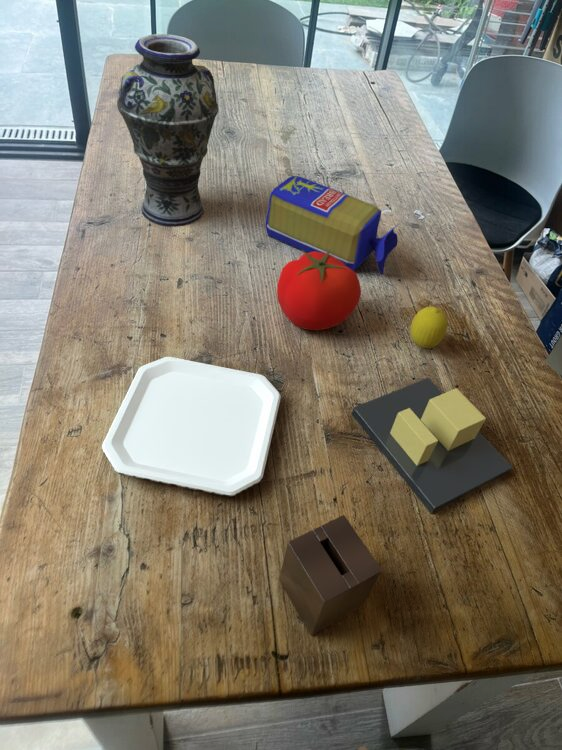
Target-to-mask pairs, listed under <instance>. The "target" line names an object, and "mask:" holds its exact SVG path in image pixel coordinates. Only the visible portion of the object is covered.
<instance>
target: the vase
mask: <svg viewBox="0 0 562 750" xmlns="http://www.w3.org/2000/svg"><path fill="white" fill-rule="evenodd" d="M134 50H135V51H136V52H137V53H138V54H139V55H140V56H142V57H143V58H142V61H140V62H139V63H137V64H136V65H134V66H133V67H132V68H131V69H130V70H129V71H126V73H125V74H123V75H122V77H121V83H120V86H119V90H118V98H117V100H116V106H117V110H118V112H119V114H120V115H121V117H122V118H123V121H124V122H125V125H126V128H127V130H128V132H129V136H130V138H131V140H132V144H133V152H134V154H135V155H136V156H137V157H138V159H139V161H140V163H141V166H142V175H143V177H144V179H145V184H146V188H145V194H144V198H143V202H142V204H141V205H142V206H141V214H142V216H143V217H144V218H145V219H146V220H147V221H149V222H151V223H153V224H156V225H159V226H163V227H182V226H187V225H190V224H193V223H195V222H197V221H198V220H199V219H201V218H202V217H203V215H204V211H205V209H204V205H203V203H202V198H201V195H200V189H199V181H200V177H201V167H202V164H203V160H204V158H205V157H206V155H207V153H208V149H209V148H208V144H209V142H210V141H209V140H210V137H211V133H212V130H213V126H214V123H215V120H216V117H217V115H218V114H219V104H218V101H217V92H216V86H215V79H214V76H213V73H212V71H210V69H209V68H208V67H206V66H205V65H200V64H199V65H197V64H193V60H195V59H196V58H198V57H199V56H200V53H201V50H200V47H199V46H198V45H197V43H195V42H194V41H193V40H191V39H189V38H187V37H184V36H180V35H176V34H175V35H174V34H168V33H154V34H148V35H145V36H142V37H140V38H139V39H138V40H137V41H136V43H135V46H134Z"/></svg>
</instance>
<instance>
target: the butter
mask: <svg viewBox="0 0 562 750" xmlns="http://www.w3.org/2000/svg"><path fill="white" fill-rule="evenodd" d="M486 420H487V417H486V416H484V415H483V413H482V412H481V411H480V410H479V409H478V408H477V407H476V405H474V404H473V403H472V402H471V401H470V400H469V399H468V398H467V397H466V396H465V394H463V393H462V392H461V391H460V390H459V389H458V388H453V389H451V390H448V391H446V392H443V394H442V395H439V396H437V397H434V398H432V399H430V400H429V402H428V405H427V407H426V409H425V411H424V413H423V416H422V418H421V421H422V422H423V423H424V424H425V425H426V426H427V428H428V429H429V430H430V431H431V432H432V433H433V434H434V436H435V437H436V438H437V439H438V440H439V441H440V442H441V443H442V445H443V446H444V447H445V448H446V449H447V450H448V451H449V450H451V449H453V448H456V447H458V446H460V445H462V444H464V443H466V442H468V441H470V440H472V439H475V437H476V435H477V433H478V432H480V430H481V428H482V427H483V426H484V425H483V424H484V423H485V422H486Z"/></svg>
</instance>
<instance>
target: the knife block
mask: <svg viewBox="0 0 562 750" xmlns="http://www.w3.org/2000/svg"><path fill="white" fill-rule="evenodd" d="M382 573H383V569H382V568H381V566H380V565H379V563H378V562H377V560H376V559H375V557H374V556H373V555H372V553H371V552H370V549H368V547H367V546H366V544H365V542H363V540H362V538H361V537H360V536H359V534H358V532H356V530H355V528H354V527H353V526H352V524H351V523H350V521H349V520H348V519H347V517H346V516H345V514H342V515H339V516H338V517H336V518H335V519H332V520H330V521H328V522H326V523H324V524H322V525H320V526H318V527H316V528H314V529H311V530H309V531H308V532H305V533H304V534H301V535H299V536H297V537H295V538H293V539H291V540H289V541H287V544H286V547H285V552H284V557H283V560H282V565H281V569H280V573H279V576H278V577H279V578H278V580H279V582H280V584H281V586H282V588H283V589H284V591H285V593H286V595H287V597H288V598H289V600H290V602H291V603H292V605H293V607H294V609H295V610H296V612H297V614H298V615H299V617H300V619H301V621H302V623H303V624H304V626H305V629H306V630H307V632H308V633H309V635H310V636H311V637H312V636H314V635H315V634H317V633H320V632H321V631H323V630H325V629H326V628H328V627H329V626H332V625H333V624H335V623H337V622H339V621H340V620H342V619H344V618H346V617H347V616H349V615H350V614H352V613H354V612H356V611H358V610H359V609H361V608H363V607H364V606H365V604H366V603H367V601H368V599H369V597H370V595H371V594H372V592H373V589H374V588H375V585H376V584H377V582H378V581H379V578H380V576H381V575H382Z"/></svg>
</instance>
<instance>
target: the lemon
mask: <svg viewBox="0 0 562 750" xmlns="http://www.w3.org/2000/svg"><path fill="white" fill-rule="evenodd" d="M447 330H448V318H447V315H446V313H445V312H444V311H443V310H442V309H441V308H440V307H437V306H426V307H423V308H421V309H420V310H419V311H418V312H416V315H414V317H413V318H412V321H411V323H410V329H409V333H410V337H411V339H412V341H413V342H414V344H416V345H417V346H418V347H420V348H423V349H431V348H434V347H436V346H438V345H439V344H440V343H441V342H442V341H443V340H444V338H445V336H446V334H447Z"/></svg>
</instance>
